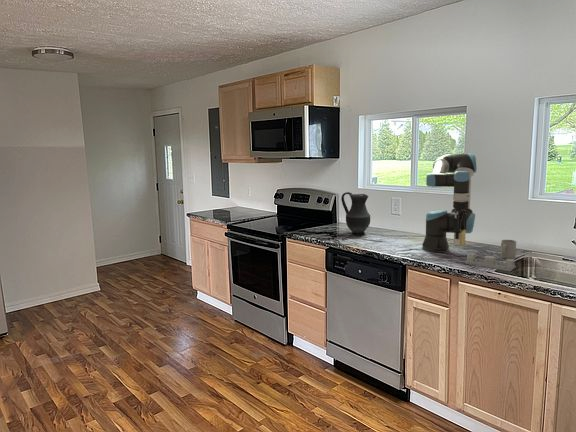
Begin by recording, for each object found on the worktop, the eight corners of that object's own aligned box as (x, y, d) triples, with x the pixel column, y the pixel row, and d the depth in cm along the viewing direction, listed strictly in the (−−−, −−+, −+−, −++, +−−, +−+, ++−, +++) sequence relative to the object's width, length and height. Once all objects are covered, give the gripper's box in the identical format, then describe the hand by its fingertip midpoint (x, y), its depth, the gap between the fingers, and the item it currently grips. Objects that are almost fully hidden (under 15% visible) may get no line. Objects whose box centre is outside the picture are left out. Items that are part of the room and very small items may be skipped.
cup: (517, 257, 229) (518, 241, 228) (509, 260, 223) (510, 244, 222) (504, 254, 235) (505, 239, 234) (495, 258, 229) (496, 242, 228)
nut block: (453, 244, 226) (454, 230, 224) (457, 242, 229) (457, 228, 227) (461, 245, 223) (462, 231, 221) (465, 243, 226) (465, 229, 224)
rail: (464, 263, 220) (465, 255, 219) (471, 260, 227) (471, 251, 226) (510, 271, 205) (511, 262, 204) (516, 267, 212) (516, 258, 211)
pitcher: (364, 238, 286) (364, 194, 281) (337, 235, 297) (336, 193, 292) (373, 233, 301) (374, 191, 295) (347, 230, 311) (346, 190, 306)
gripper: (461, 203, 213) (459, 248, 217) (474, 198, 225) (472, 241, 230) (446, 202, 218) (445, 246, 222) (460, 197, 230) (458, 239, 235)
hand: (459, 243), depth 226 cm, fingers closed on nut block, 4 cm apart
